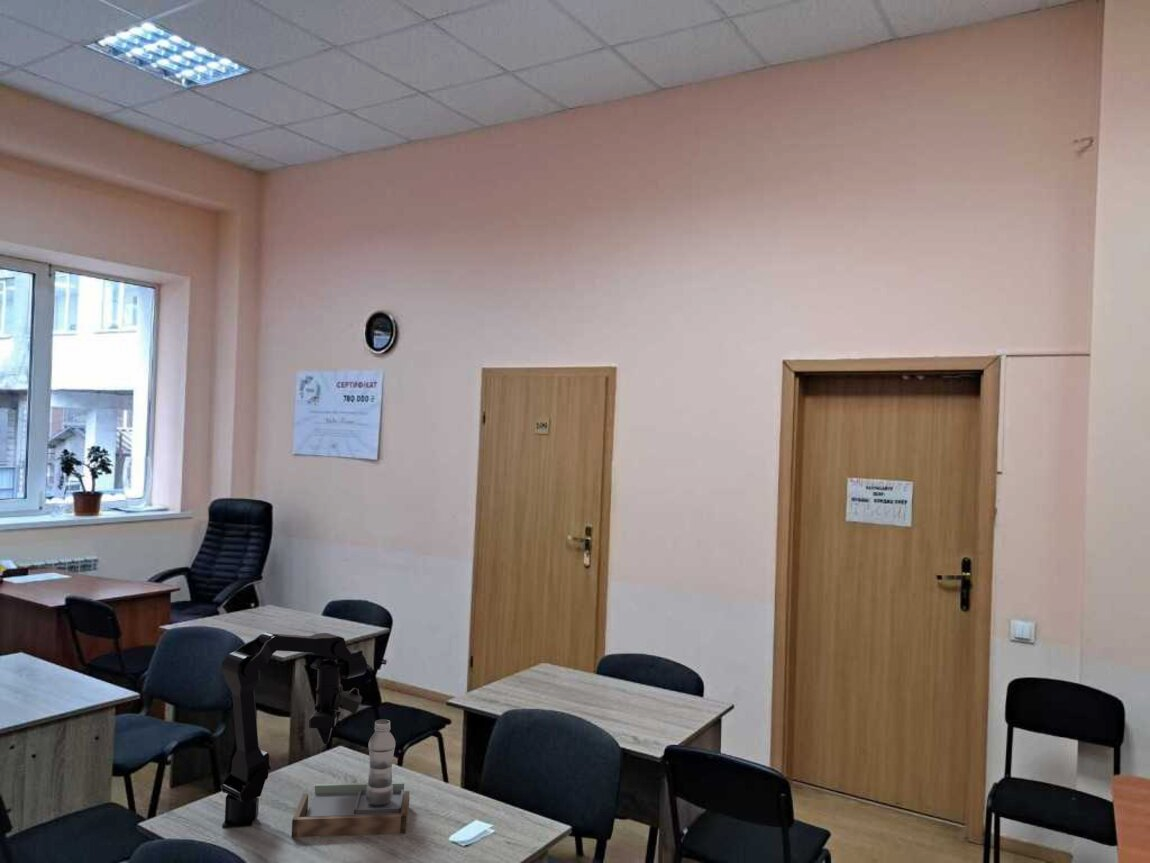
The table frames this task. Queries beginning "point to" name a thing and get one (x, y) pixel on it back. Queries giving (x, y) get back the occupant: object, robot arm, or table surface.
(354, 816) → the dock
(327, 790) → the tray
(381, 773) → the plastic bottle
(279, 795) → the table surface
